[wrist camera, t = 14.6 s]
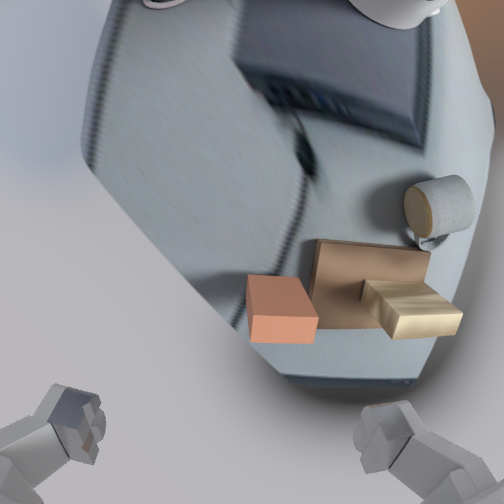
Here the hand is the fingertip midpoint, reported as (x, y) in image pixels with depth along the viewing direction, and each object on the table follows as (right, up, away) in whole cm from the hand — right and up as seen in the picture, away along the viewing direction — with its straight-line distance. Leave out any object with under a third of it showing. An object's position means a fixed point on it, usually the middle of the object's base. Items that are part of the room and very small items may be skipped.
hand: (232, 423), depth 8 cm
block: (+3, +1, +30) cm, 30 cm away
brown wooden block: (+17, 0, +34) cm, 38 cm away
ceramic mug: (+25, +11, +31) cm, 42 cm away
